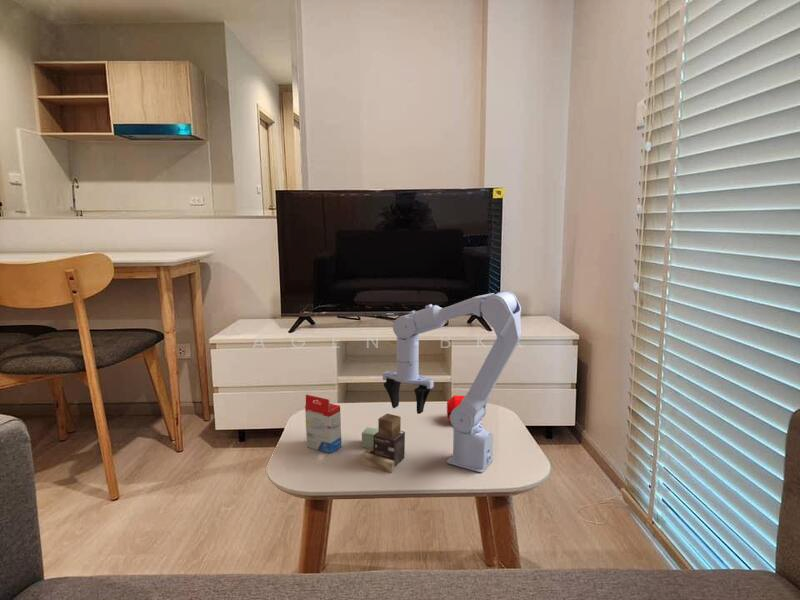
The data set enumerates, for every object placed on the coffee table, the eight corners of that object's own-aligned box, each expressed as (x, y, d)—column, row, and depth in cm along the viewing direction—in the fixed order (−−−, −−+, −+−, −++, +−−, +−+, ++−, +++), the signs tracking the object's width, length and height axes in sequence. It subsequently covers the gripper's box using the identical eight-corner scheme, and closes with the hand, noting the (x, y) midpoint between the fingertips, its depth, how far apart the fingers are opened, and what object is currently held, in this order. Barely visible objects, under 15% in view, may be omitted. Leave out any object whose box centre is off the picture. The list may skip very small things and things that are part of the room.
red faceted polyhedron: (446, 416, 149) (446, 393, 148) (472, 417, 148) (472, 393, 147) (447, 427, 141) (448, 402, 140) (475, 427, 140) (475, 402, 139)
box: (372, 462, 119) (372, 435, 118) (384, 453, 124) (384, 426, 123) (394, 468, 116) (394, 440, 115) (405, 458, 121) (405, 431, 120)
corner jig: (410, 457, 122) (410, 448, 121) (391, 472, 114) (391, 463, 114) (381, 449, 126) (381, 440, 126) (361, 463, 119) (361, 453, 118)
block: (380, 442, 130) (380, 428, 130) (375, 449, 127) (375, 434, 126) (367, 440, 132) (367, 427, 131) (361, 447, 128) (361, 432, 127)
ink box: (342, 447, 128) (341, 394, 125) (330, 454, 123) (329, 400, 121) (317, 440, 132) (316, 389, 130) (305, 446, 128) (303, 394, 126)
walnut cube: (400, 431, 120) (400, 416, 119) (392, 437, 117) (392, 422, 116) (387, 428, 122) (387, 413, 122) (378, 433, 119) (378, 418, 118)
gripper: (439, 360, 124) (438, 410, 126) (392, 353, 132) (392, 400, 133) (426, 366, 118) (425, 419, 120) (378, 358, 126) (378, 407, 128)
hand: (407, 409), depth 126 cm, fingers open, 7 cm apart
